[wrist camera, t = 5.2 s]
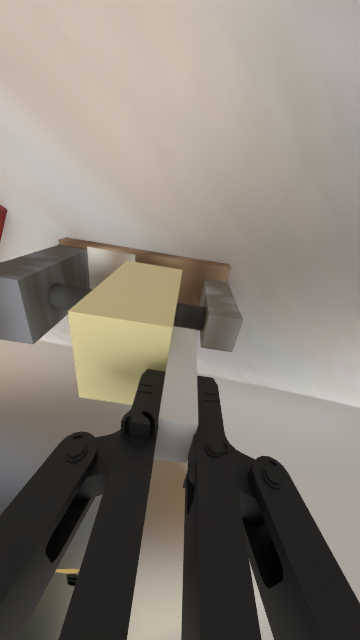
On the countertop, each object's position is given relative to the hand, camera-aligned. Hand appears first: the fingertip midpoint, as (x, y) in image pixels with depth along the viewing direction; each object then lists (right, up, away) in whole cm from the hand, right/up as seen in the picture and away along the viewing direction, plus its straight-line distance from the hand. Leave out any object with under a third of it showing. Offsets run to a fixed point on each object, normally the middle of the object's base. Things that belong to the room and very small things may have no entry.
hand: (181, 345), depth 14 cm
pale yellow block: (-3, +4, +6) cm, 8 cm away
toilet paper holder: (-4, +7, +11) cm, 13 cm away
